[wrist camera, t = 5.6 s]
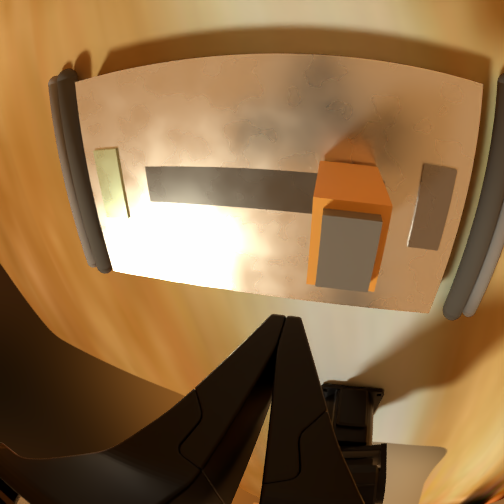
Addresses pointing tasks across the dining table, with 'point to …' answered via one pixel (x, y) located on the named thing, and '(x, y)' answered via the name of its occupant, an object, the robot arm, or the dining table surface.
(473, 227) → the cord
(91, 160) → the faceplate
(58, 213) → the dining table surface
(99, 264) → the cord
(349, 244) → the block
